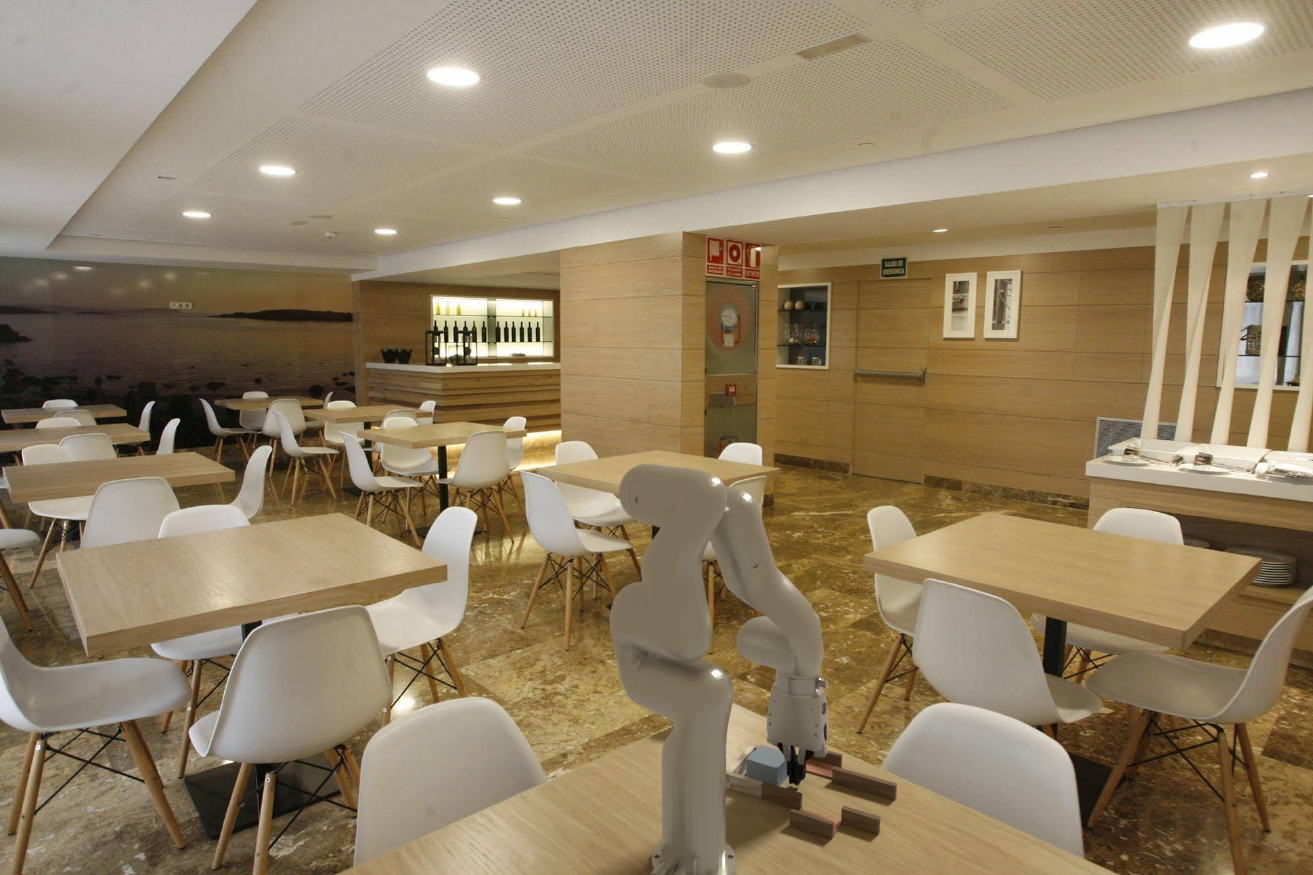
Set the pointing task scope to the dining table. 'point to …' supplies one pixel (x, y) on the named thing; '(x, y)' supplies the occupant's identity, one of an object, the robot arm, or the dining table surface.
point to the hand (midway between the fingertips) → (796, 780)
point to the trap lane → (802, 818)
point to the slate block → (767, 765)
